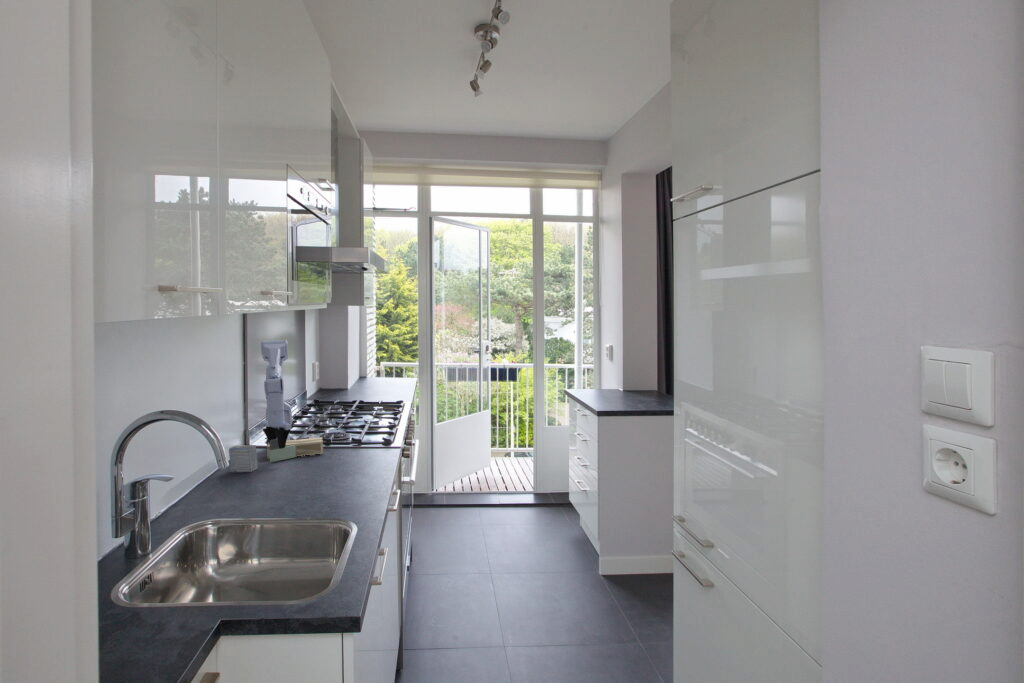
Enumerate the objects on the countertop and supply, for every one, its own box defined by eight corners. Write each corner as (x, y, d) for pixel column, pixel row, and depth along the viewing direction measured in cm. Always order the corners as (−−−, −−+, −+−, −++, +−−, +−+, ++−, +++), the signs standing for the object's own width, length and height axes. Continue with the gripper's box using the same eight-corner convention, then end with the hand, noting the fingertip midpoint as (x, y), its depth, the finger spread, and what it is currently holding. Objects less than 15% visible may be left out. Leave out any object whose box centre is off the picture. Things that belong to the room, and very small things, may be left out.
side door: (269, 461, 228) (268, 440, 228) (295, 456, 235) (294, 435, 234) (271, 462, 227) (269, 440, 227) (297, 456, 234) (296, 436, 234)
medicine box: (258, 469, 220) (256, 445, 219) (251, 472, 215) (250, 448, 215) (236, 469, 220) (235, 445, 220) (230, 472, 216) (228, 448, 215)
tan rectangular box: (268, 455, 240) (268, 442, 240) (322, 449, 246) (322, 437, 246) (267, 459, 232) (266, 446, 232) (323, 454, 238) (322, 441, 238)
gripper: (253, 411, 227) (255, 447, 228) (278, 414, 220) (281, 451, 221) (270, 408, 233) (272, 443, 234) (295, 410, 226) (297, 447, 227)
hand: (277, 447), depth 228 cm, fingers open, 4 cm apart
